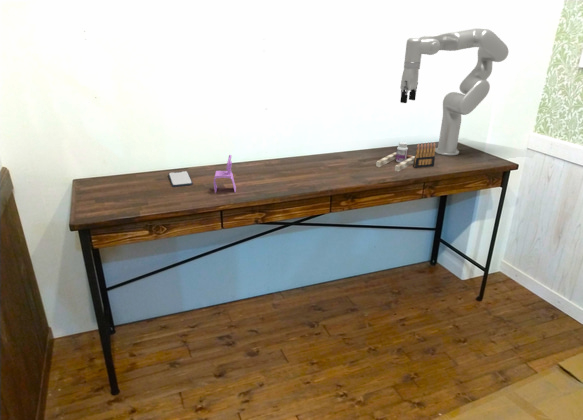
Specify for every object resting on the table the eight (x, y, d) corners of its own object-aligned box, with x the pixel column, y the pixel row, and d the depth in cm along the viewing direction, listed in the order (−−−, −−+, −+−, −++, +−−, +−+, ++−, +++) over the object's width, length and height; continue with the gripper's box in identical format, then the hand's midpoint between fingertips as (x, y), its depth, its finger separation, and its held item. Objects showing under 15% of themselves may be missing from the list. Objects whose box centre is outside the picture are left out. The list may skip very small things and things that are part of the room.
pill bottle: (399, 159, 233) (401, 140, 229) (408, 161, 230) (410, 143, 226) (393, 161, 230) (395, 142, 226) (402, 163, 226) (404, 145, 222)
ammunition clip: (431, 165, 225) (435, 141, 220) (434, 166, 224) (437, 142, 219) (412, 166, 222) (415, 143, 217) (414, 168, 221) (418, 144, 216)
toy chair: (215, 186, 194) (213, 152, 188) (236, 186, 195) (234, 152, 189) (213, 193, 187) (211, 158, 181) (235, 193, 187) (234, 158, 181)
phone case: (193, 186, 196) (187, 174, 209) (193, 183, 195) (187, 170, 209) (172, 188, 193) (168, 176, 206) (172, 185, 192) (167, 172, 206)
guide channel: (394, 156, 237) (394, 152, 236) (416, 161, 230) (416, 156, 229) (376, 166, 222) (376, 161, 221) (398, 171, 215) (399, 166, 214)
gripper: (412, 63, 228) (408, 98, 235) (396, 66, 216) (393, 102, 223) (426, 64, 224) (421, 99, 231) (411, 67, 211) (407, 104, 218)
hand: (407, 101), depth 227 cm, fingers open, 9 cm apart
